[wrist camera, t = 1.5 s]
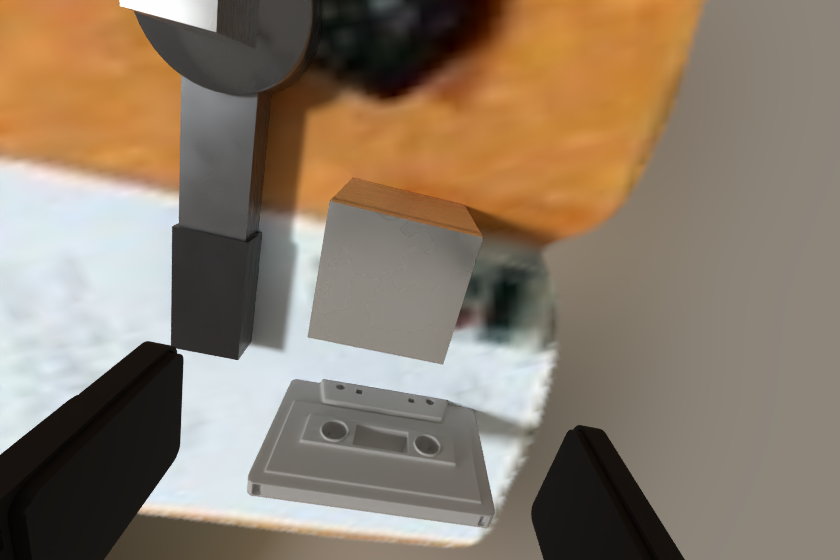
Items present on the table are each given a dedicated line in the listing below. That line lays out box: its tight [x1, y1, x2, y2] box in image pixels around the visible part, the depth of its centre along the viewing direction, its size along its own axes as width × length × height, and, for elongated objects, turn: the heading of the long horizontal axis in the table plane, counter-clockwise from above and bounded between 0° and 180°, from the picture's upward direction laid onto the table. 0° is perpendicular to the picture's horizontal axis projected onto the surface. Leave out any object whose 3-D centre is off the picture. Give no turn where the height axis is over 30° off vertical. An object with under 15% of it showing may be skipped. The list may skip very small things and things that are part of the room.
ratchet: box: [120, 0, 322, 360], centre depth 17 cm, size 20×7×6 cm, turn 166°
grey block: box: [308, 178, 483, 364], centre depth 19 cm, size 6×6×6 cm
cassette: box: [247, 379, 495, 528], centre depth 22 cm, size 12×2×8 cm, turn 78°
